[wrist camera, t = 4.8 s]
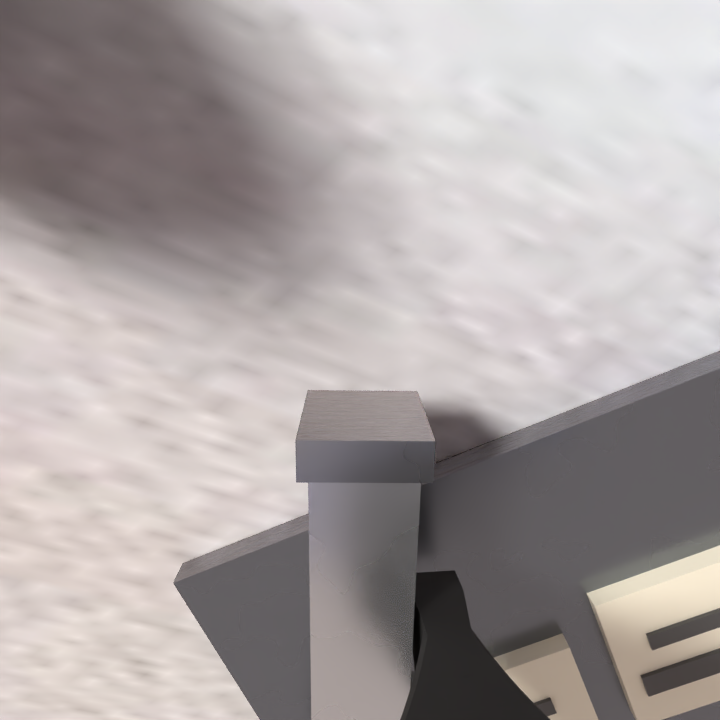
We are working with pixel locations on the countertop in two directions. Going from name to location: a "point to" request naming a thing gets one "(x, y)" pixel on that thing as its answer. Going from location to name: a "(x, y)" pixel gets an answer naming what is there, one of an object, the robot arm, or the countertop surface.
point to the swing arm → (362, 545)
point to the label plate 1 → (550, 679)
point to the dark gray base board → (504, 540)
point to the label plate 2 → (665, 635)
